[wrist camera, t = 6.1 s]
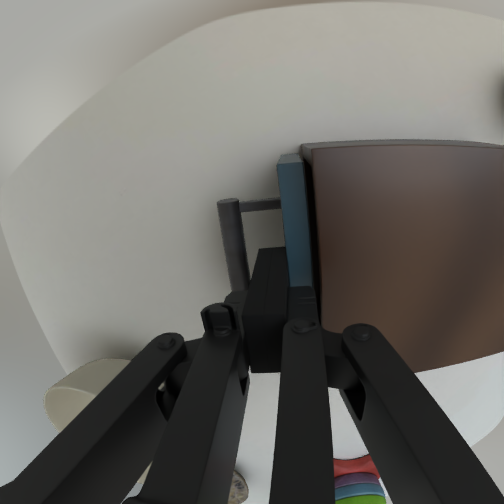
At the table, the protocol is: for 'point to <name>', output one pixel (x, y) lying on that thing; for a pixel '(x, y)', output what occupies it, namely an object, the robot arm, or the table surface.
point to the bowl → (82, 392)
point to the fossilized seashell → (238, 489)
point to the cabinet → (410, 244)
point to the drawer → (293, 222)
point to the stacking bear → (357, 482)
